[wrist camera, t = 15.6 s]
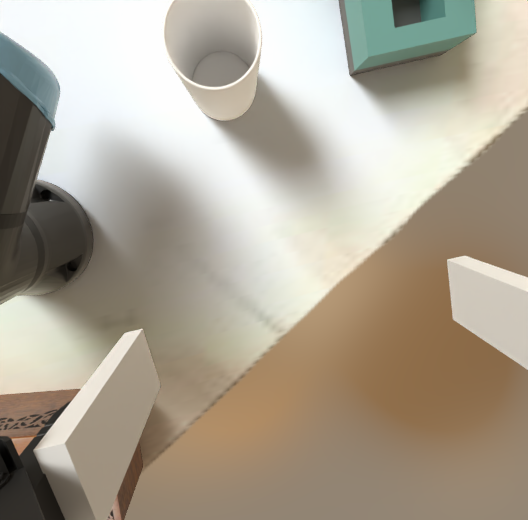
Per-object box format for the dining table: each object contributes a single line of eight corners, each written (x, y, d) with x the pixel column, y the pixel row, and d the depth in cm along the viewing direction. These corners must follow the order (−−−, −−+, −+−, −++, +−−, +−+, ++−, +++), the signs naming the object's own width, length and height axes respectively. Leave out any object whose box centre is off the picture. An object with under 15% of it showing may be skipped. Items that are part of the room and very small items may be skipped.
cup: (198, 41, 43) (173, -37, 28) (263, 61, 44) (273, -3, 29) (184, 110, 45) (152, 73, 29) (246, 128, 46) (248, 102, 30)
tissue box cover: (-23, 478, 56) (-80, 542, 46) (-46, 397, 52) (-112, 447, 43) (143, 464, 57) (122, 524, 47) (131, 384, 53) (105, 430, 44)
